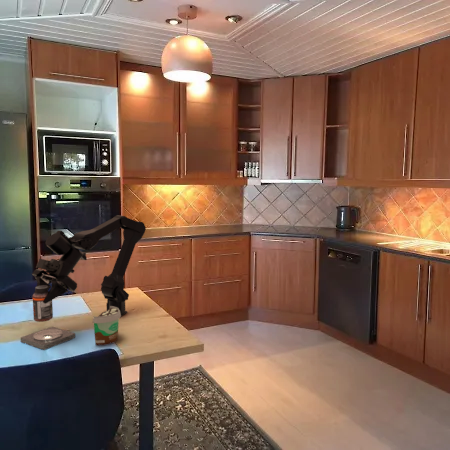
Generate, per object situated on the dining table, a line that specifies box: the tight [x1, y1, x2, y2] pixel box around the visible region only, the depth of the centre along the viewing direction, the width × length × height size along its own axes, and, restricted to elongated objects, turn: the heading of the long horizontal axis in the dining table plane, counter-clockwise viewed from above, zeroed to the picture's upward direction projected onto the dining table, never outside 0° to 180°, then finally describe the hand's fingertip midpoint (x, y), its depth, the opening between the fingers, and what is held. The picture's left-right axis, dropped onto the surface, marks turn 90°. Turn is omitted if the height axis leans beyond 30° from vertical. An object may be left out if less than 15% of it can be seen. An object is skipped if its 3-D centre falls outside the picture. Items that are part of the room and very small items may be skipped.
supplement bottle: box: [32, 285, 54, 323], centre depth 137 cm, size 6×6×11 cm
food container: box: [92, 306, 122, 346], centre depth 137 cm, size 12×6×10 cm, turn 168°
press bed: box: [20, 326, 76, 351], centre depth 137 cm, size 12×12×2 cm
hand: (38, 301), depth 136 cm, fingers closed on supplement bottle, 6 cm apart
